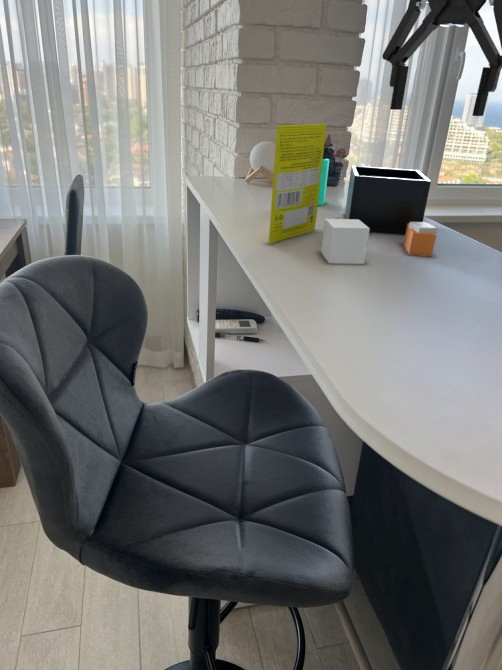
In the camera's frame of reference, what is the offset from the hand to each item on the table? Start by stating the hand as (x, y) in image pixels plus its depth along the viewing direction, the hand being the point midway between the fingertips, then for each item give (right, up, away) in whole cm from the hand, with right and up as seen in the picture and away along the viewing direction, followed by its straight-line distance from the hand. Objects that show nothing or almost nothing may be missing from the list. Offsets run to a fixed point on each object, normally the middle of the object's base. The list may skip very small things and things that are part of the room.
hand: (434, 112), depth 81 cm
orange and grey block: (+1, -20, +12) cm, 23 cm away
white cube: (-14, -23, +5) cm, 27 cm away
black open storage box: (-2, -12, +29) cm, 31 cm away
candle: (-14, -2, +46) cm, 48 cm away
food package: (-21, -17, +16) cm, 32 cm away
